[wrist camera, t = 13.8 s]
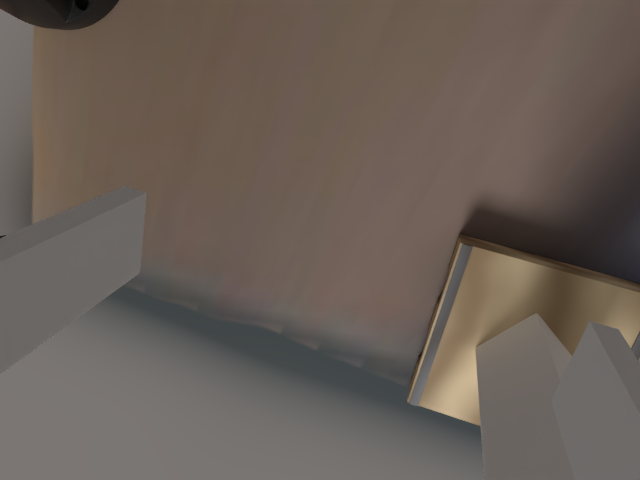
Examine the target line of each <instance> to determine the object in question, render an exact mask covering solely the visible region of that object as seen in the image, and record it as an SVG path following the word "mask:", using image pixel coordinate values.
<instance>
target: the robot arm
mask: <svg viewBox="0 0 640 480" xmlns="http://www.w3.org/2000/svg"><path fill="white" fill-rule="evenodd" d="M118 1H119V0H0V9H2V10H4V11H5V12H7V13H9V14H11V15H13V16H15V17H16V18H18V19H20V20H22V21H24V22H27V23H29V24H32V25H35V26H39V27H44V28H52V29H62V30H74V29H80V28H84V27H87V26H90V25H92V24H94V23H96V22H97V21H99V20H101V19H102V18H103V17H105V16H106V15H107V14H108V13H109V12H110V11H111V10H112V9H113V8H114V6H115V5H116V4H117V2H118ZM146 195H147V193H145V192H142V191H138V190H135V189H131V188H128V187H124V186H123V187H121V188H119V189H116V190H114V191H112V192H109V193H107V194H104V195H102V196H100V197H97V198H95V199H92V200H90V201H88V202H85V203H83V204H80V205H78V206H76V207H73V208H71V209H69V210H66V211H64V212H61V213H59V214H57V215H54V216H52V217H49V218H47V219H45V220H42V221H40V222H37V223H35V224H33V225H30V226H28V227H26V228H23V229H21V230H19V231H16V232H14V233H11V234H9V235H4V236H0V374H1V373H2V372H4V371H5V370H6V369H8V368H9V367H11V366H12V365H13V364H15V363H16V362H18V361H19V360H20V359H22V358H23V357H24V356H25V355H27V354H29V353H30V352H31V351H33V350H34V349H35V348H37V347H38V346H39V345H41V344H42V343H44V342H45V341H47V340H48V339H49V338H51V337H52V336H53V335H55V334H56V333H58V332H59V331H60V330H62V329H63V328H64V327H66V326H67V325H69V324H70V323H71V322H73V321H74V320H75V319H77V318H78V317H80V316H81V315H82V314H84V313H85V312H87V311H88V310H89V309H91V308H92V307H93V306H95V305H96V304H98V303H99V302H100V301H102V300H103V299H104V298H106V297H107V296H108V295H110V294H111V293H113V292H114V291H115V290H117V289H118V288H119V287H121V286H122V285H124V284H125V283H127V282H128V281H129V280H131V279H132V278H133V277H135V276H136V275H138V274H139V273H140V265H141V254H142V242H143V230H144V218H145V207H146ZM551 403H552V406H553V410H554V413H555V416H556V420H557V423H558V426H559V429H560V433H561V436H562V439H563V443H564V446H565V449H566V452H567V456H568V459H569V462H570V466H571V469H572V472H573V475H574V479H575V480H640V362H639V361H638V359H637V358H636V356H635V354H634V353H633V351H632V350H631V348H630V346H629V345H628V343H627V342H626V340H625V338H624V337H623V335H622V334H621V332H620V330H619V329H616V328H612V327H609V326H605V325H602V324H599V323H595V322H592V321H589V323H588V325H587V327H586V329H585V331H584V333H583V335H582V338H581V340H580V342H579V344H578V346H577V348H576V350H575V352H574V354H573V356H572V358H571V360H570V362H569V364H568V367H567V369H566V371H565V373H564V375H563V377H562V379H561V381H560V383H559V385H558V387H557V389H556V391H555V393H554V396H553V398H552V400H551Z"/></svg>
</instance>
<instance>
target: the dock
mask: <svg viewBox="0 0 640 480" xmlns="http://www.w3.org/2000/svg"><path fill="white" fill-rule="evenodd" d="M535 313H538V314H539V316H540V317H541V318H542V319H543V321H544V322H545V323H546V324H547V326H548V327H549V328H550V329H551V331H552V332H553V333H554V334H555V336H556V337H557V338H558V339H559V340H560V342H561V343H562V344H563V345H564V347H565V348H566V349H567V350H568V352H569V353H570V354H571V355H572V356H573V354H574V352H575V350H576V348H577V346H578V344H579V342H580V340H581V338H582V335H583V333H584V331H585V329H586V327H587V325H588V323H589V321H592V322H595V323H599V324H602V325H605V326H609V327H612V328H616V329H619V330H620V332H621V334H622V335H623V337H624V338H625V340H626V342H627V343H628V345H629V346H630V348H631V350H632V351H633V353H634V354H635V356H636V358H637V359H638V361H640V284H639V283H636V282H632V281H628V280H625V279H621V278H618V277H614V276H610V275H607V274H603V273H599V272H596V271H592V270H589V269H585V268H581V267H578V266H574V265H571V264H567V263H563V262H560V261H556V260H552V259H549V258H545V257H542V256H538V255H534V254H531V253H527V252H523V251H520V250H516V249H513V248H509V247H505V246H502V245H498V244H494V243H491V242H487V241H484V240H480V239H476V238H473V237H469V236H465V235H462V234H459V236H458V239H457V242H456V245H455V248H454V251H453V254H452V257H451V260H450V263H449V273H448V276H447V279H446V282H445V285H444V288H443V291H442V294H441V297H440V298H438V299H437V302H436V305H435V308H434V312H433V315H432V318H431V321H430V324H429V328H428V336H427V339H426V342H425V345H424V348H423V351H422V354H421V356H419V357H418V360H417V363H416V366H415V369H414V372H413V375H412V378H411V381H410V388H409V393H408V399H407V402H409V404H412V405H415V406H418V405H419V406H422V407H425V408H428V409H431V410H434V411H437V412H440V413H443V414H446V415H449V416H452V417H455V418H458V419H461V420H464V421H467V422H470V423H473V424H476V425H479V426H481V424H480V409H479V395H478V381H477V367H476V353H475V348H476V347H478V346H479V345H481V344H483V343H485V342H486V341H488V340H490V339H491V338H493V337H495V336H497V335H498V334H500V333H502V332H503V331H505V330H507V329H509V328H510V327H512V326H514V325H516V324H517V323H519V322H521V321H522V320H524V319H526V318H528V317H529V316H531V315H533V314H535Z"/></svg>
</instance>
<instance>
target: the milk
mask: <svg viewBox="0 0 640 480" xmlns="http://www.w3.org/2000/svg"><path fill="white" fill-rule="evenodd" d="M475 353H476V367H477V381H478V395H479V409H480V424H481V438H482V451H483V466H484V480H575V479H574V475H573V472H572V469H571V466H570V462H569V459H568V456H567V452H566V449H565V446H564V443H563V439H562V436H561V433H560V429H559V426H558V423H557V420H556V416H555V413H554V410H553V406H552V403H551V400H552V398H553V396H554V393H555V391H556V389H557V387H558V385H559V383H560V381H561V379H562V377H563V375H564V373H565V371H566V369H567V367H568V364H569V362H570V360H571V358H572V355H571V354H570V353H569V352H568V350H567V349H566V348H565V347H564V345H563V344H562V343H561V342H560V340H559V339H558V338H557V337H556V336H555V334H554V333H553V332H552V331H551V329H550V328H549V327H548V326H547V324H546V323H545V322H544V321H543V319H542V318H541V317H540V316H539V314H538V313H535V314H533V315H531V316H529V317H528V318H526V319H524V320H522V321H521V322H519V323H517V324H516V325H514V326H512V327H510V328H509V329H507V330H505V331H503V332H502V333H500V334H498V335H497V336H495V337H493V338H491V339H490V340H488V341H486V342H485V343H483V344H481V345H479V346H478V347H476V348H475Z"/></svg>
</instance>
